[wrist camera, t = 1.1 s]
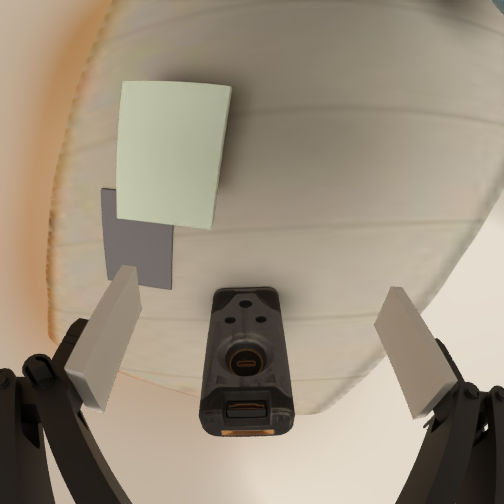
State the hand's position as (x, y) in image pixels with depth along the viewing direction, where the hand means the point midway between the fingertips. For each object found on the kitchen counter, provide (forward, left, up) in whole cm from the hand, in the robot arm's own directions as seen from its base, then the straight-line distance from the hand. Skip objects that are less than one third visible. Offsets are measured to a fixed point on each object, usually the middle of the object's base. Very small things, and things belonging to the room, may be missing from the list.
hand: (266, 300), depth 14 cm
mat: (+10, -14, -22) cm, 28 cm away
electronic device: (+18, +2, -23) cm, 29 cm away
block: (-4, -8, -15) cm, 18 cm away
